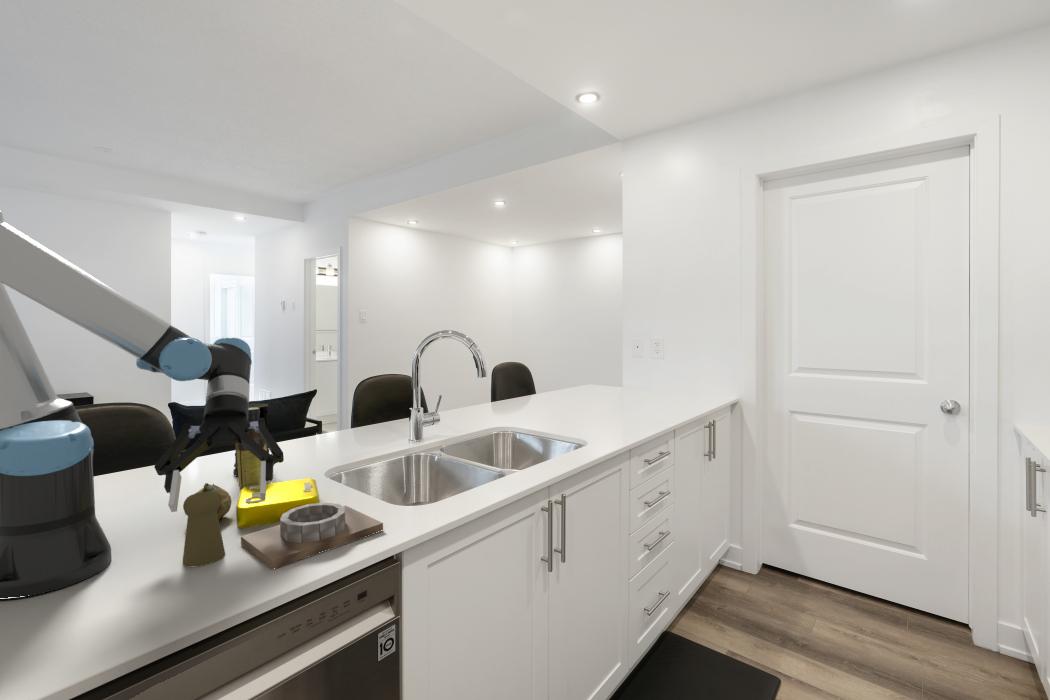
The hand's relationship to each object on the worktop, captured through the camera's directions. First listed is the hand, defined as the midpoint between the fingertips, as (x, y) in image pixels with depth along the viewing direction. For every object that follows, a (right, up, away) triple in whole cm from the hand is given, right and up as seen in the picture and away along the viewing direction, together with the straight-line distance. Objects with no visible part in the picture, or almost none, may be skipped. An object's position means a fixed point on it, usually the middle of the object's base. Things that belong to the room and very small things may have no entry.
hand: (219, 502), depth 87 cm
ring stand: (+15, -8, +4) cm, 17 cm away
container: (-19, -6, +46) cm, 50 cm away
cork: (0, -8, -4) cm, 9 cm away
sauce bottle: (-10, -7, +29) cm, 32 cm away
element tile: (+1, -8, +18) cm, 20 cm away
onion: (-10, -8, +13) cm, 18 cm away
